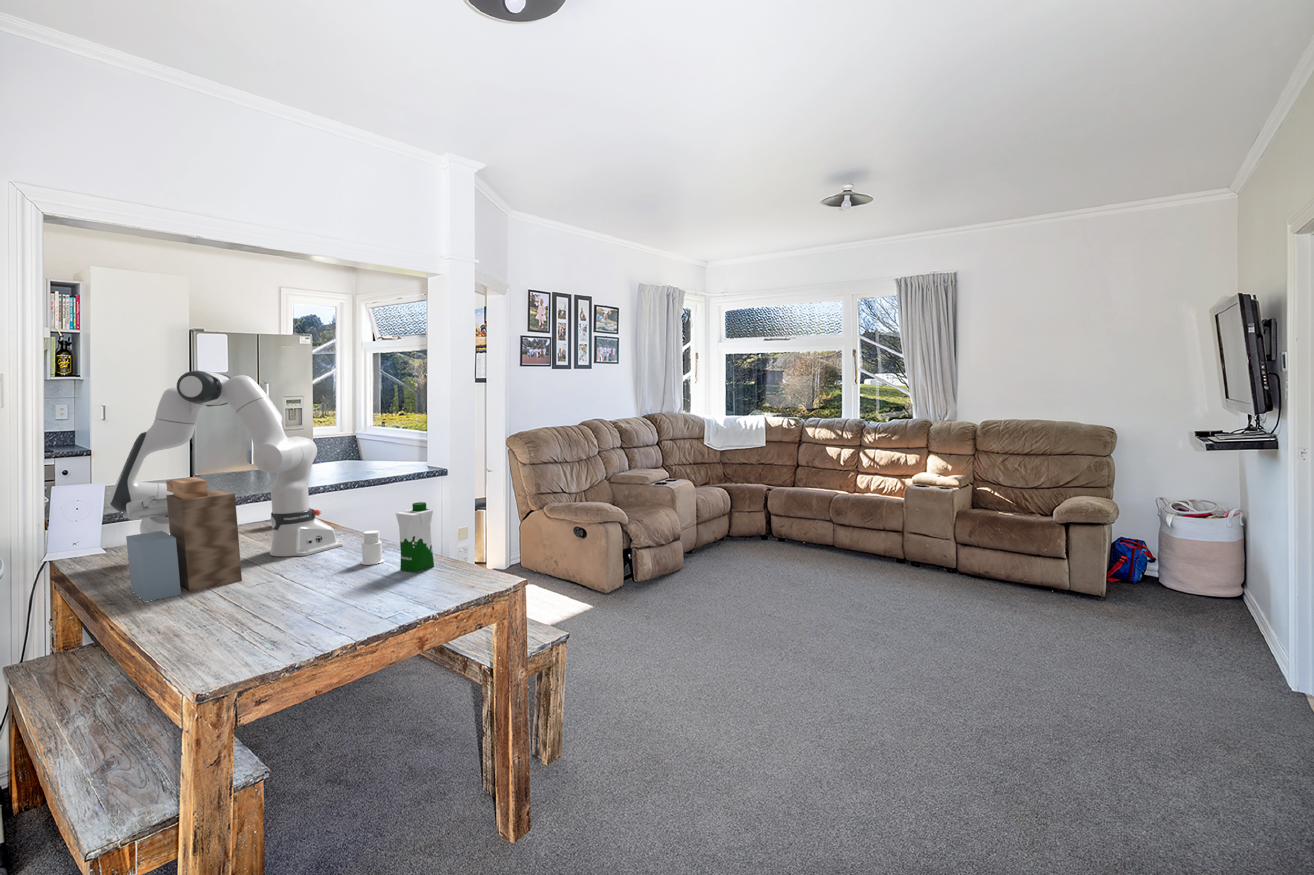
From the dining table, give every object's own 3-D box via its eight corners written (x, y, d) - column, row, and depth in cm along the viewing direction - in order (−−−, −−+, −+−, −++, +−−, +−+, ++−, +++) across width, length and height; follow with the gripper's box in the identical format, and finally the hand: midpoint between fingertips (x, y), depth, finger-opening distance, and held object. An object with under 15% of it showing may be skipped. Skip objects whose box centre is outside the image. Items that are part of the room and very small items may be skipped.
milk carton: (438, 566, 203) (435, 503, 201) (415, 574, 195) (412, 508, 193) (418, 562, 207) (415, 501, 205) (395, 570, 199) (391, 506, 197)
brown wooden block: (184, 488, 199) (183, 474, 198) (207, 496, 186) (206, 480, 185) (162, 491, 195) (161, 476, 194) (184, 499, 181) (182, 483, 181)
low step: (166, 584, 189) (161, 530, 187) (180, 594, 180) (175, 537, 179) (131, 591, 183) (126, 536, 181) (145, 602, 174) (139, 544, 172)
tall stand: (225, 571, 201) (218, 488, 198) (241, 580, 192) (234, 493, 189) (174, 582, 191) (166, 495, 188) (189, 592, 182) (181, 500, 179)
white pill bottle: (374, 566, 204) (373, 534, 203) (354, 565, 205) (353, 534, 205) (389, 560, 212) (388, 529, 211) (370, 559, 213) (369, 529, 213)
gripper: (119, 509, 200) (127, 491, 191) (198, 498, 215) (208, 481, 207) (124, 528, 198) (131, 510, 190) (202, 516, 214) (213, 499, 206)
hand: (172, 495), depth 199 cm, fingers open, 8 cm apart
